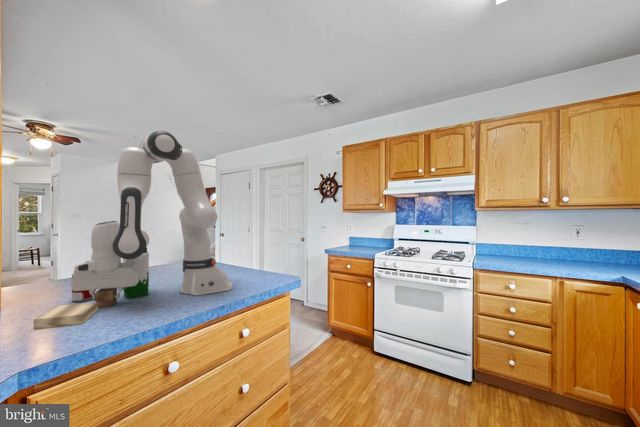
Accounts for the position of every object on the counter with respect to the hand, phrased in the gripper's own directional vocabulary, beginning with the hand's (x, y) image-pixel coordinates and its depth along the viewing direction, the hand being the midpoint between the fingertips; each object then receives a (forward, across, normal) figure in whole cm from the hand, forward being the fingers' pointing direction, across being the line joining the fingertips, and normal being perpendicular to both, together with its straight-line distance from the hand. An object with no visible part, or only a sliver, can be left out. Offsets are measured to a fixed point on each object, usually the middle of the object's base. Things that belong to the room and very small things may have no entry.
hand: (106, 299), depth 103 cm
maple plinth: (+2, +7, +11) cm, 13 cm away
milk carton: (+2, -7, -10) cm, 12 cm away
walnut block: (+2, 0, 0) cm, 2 cm away
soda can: (+2, +11, -10) cm, 15 cm away
